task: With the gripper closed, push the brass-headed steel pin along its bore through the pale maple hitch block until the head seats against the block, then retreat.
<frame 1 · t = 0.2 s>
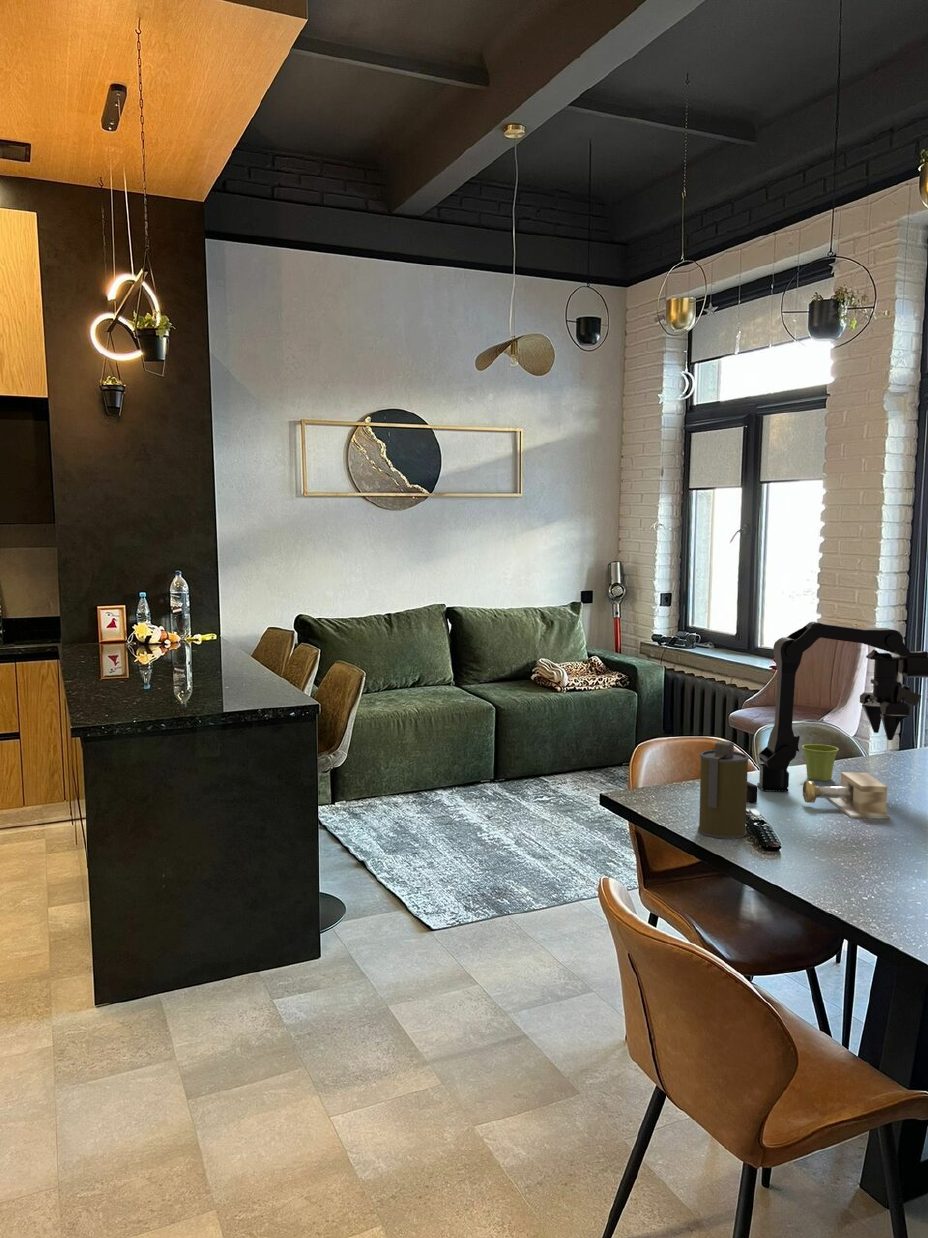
hand: (882, 736, 234), 14 cm above the table, fingers open, 9 cm apart
canister: (721, 833, 200), on the table
lynch pin: (838, 792, 220), point 4 cm above the table, slide at 0.0 cm
mobile phone: (735, 797, 230), on the table
hitch block: (862, 807, 220), on the table
plant pot: (819, 779, 248), on the table
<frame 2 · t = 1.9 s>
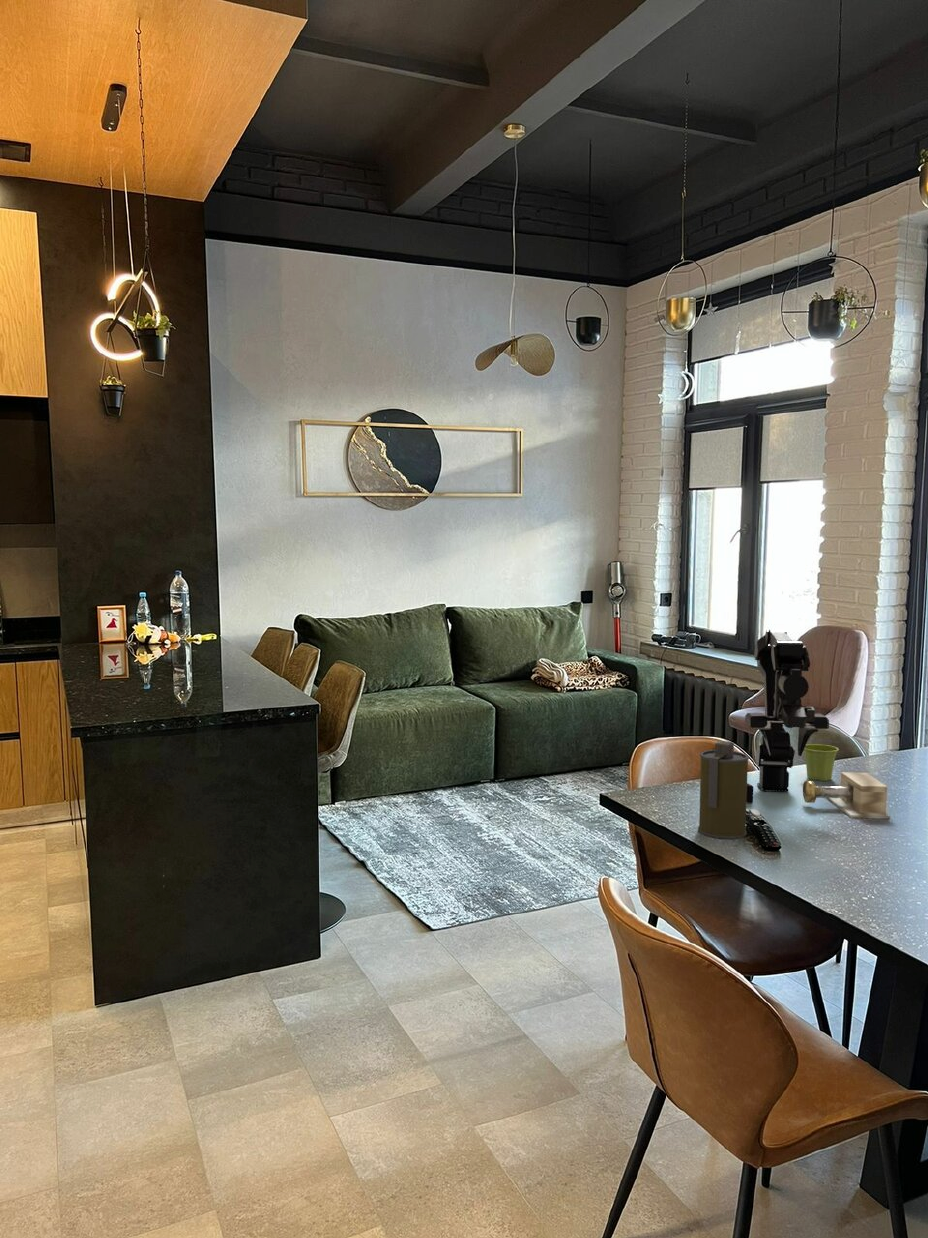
hand: (785, 755, 220), 13 cm above the table, fingers open, 7 cm apart
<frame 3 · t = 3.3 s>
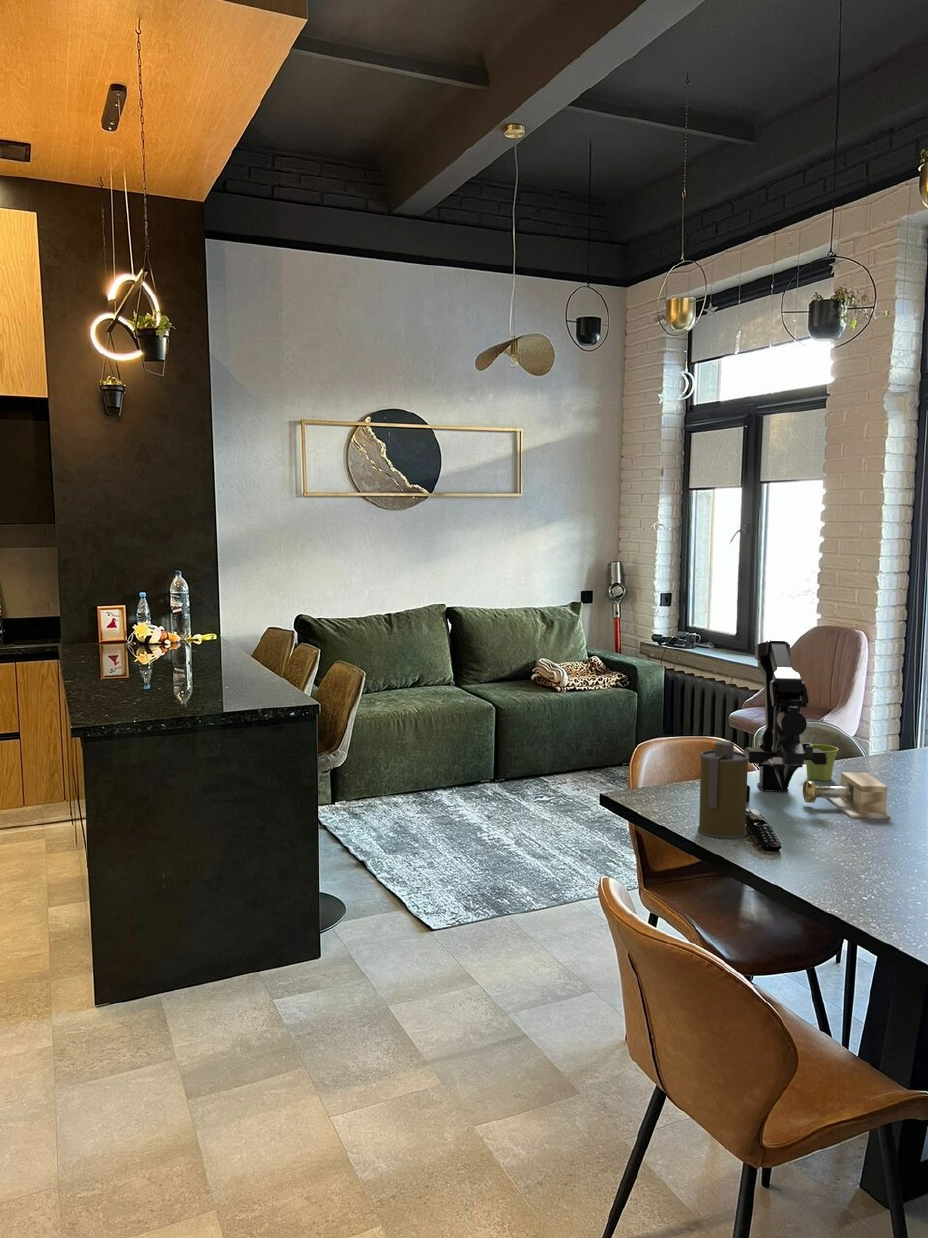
hand: (783, 790, 221), 4 cm above the table, fingers closed
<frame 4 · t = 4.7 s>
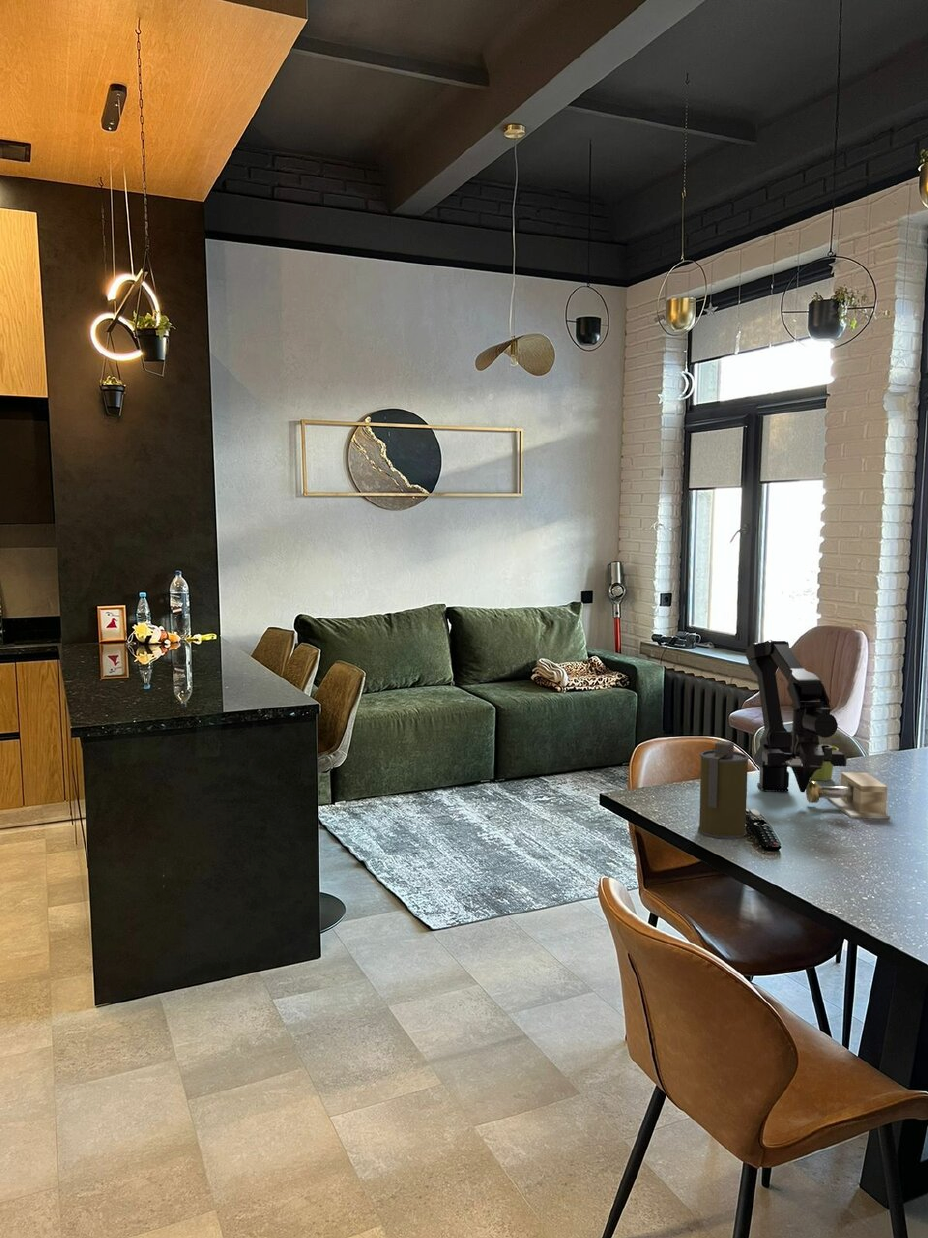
hand: (802, 792, 221), 4 cm above the table, fingers closed
lynch pin: (841, 792, 220), point 4 cm above the table, slide at 0.8 cm, touching gripper
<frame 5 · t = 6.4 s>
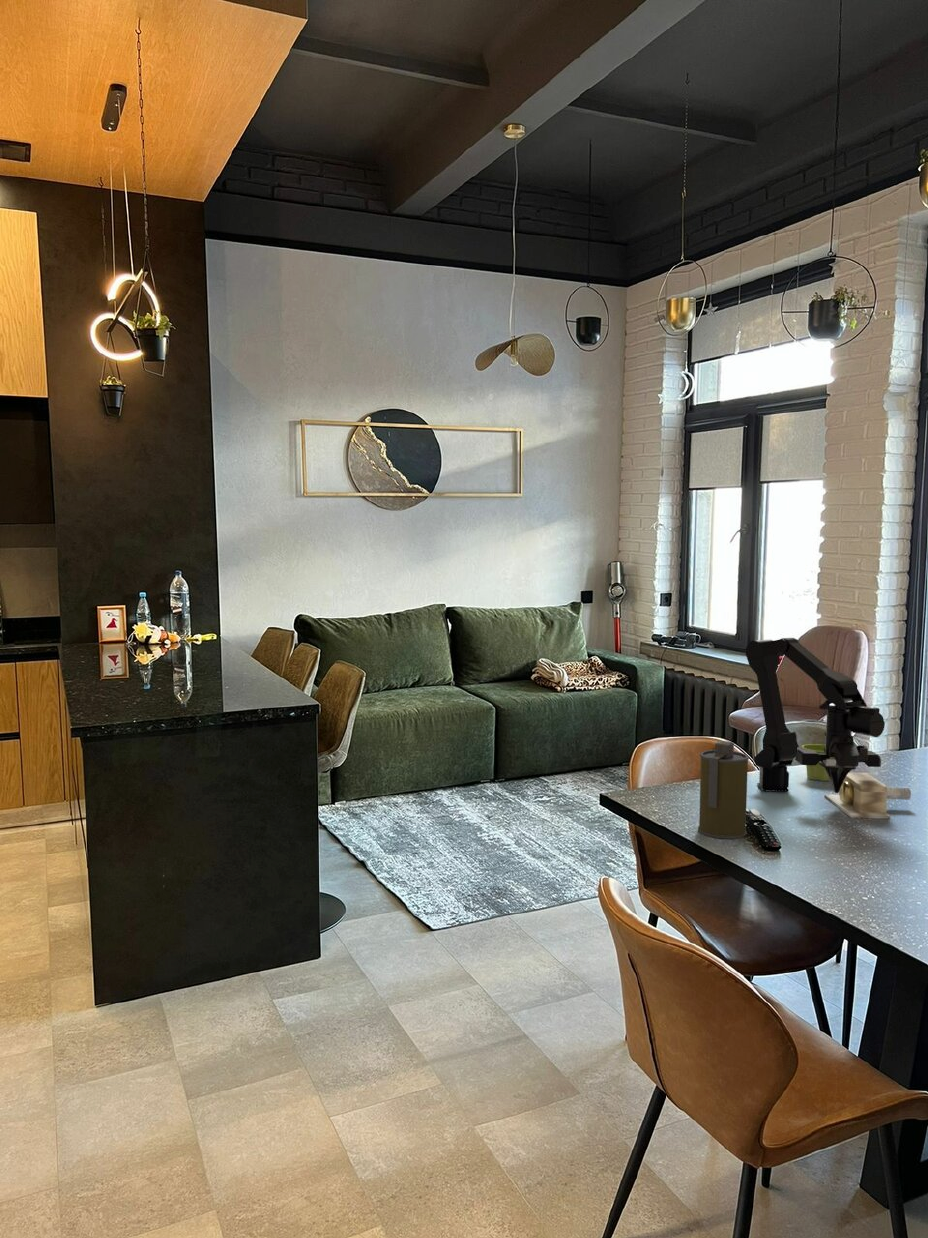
hand: (836, 792, 220), 4 cm above the table, fingers closed
lynch pin: (875, 793, 220), point 4 cm above the table, slide at 8.8 cm, touching gripper
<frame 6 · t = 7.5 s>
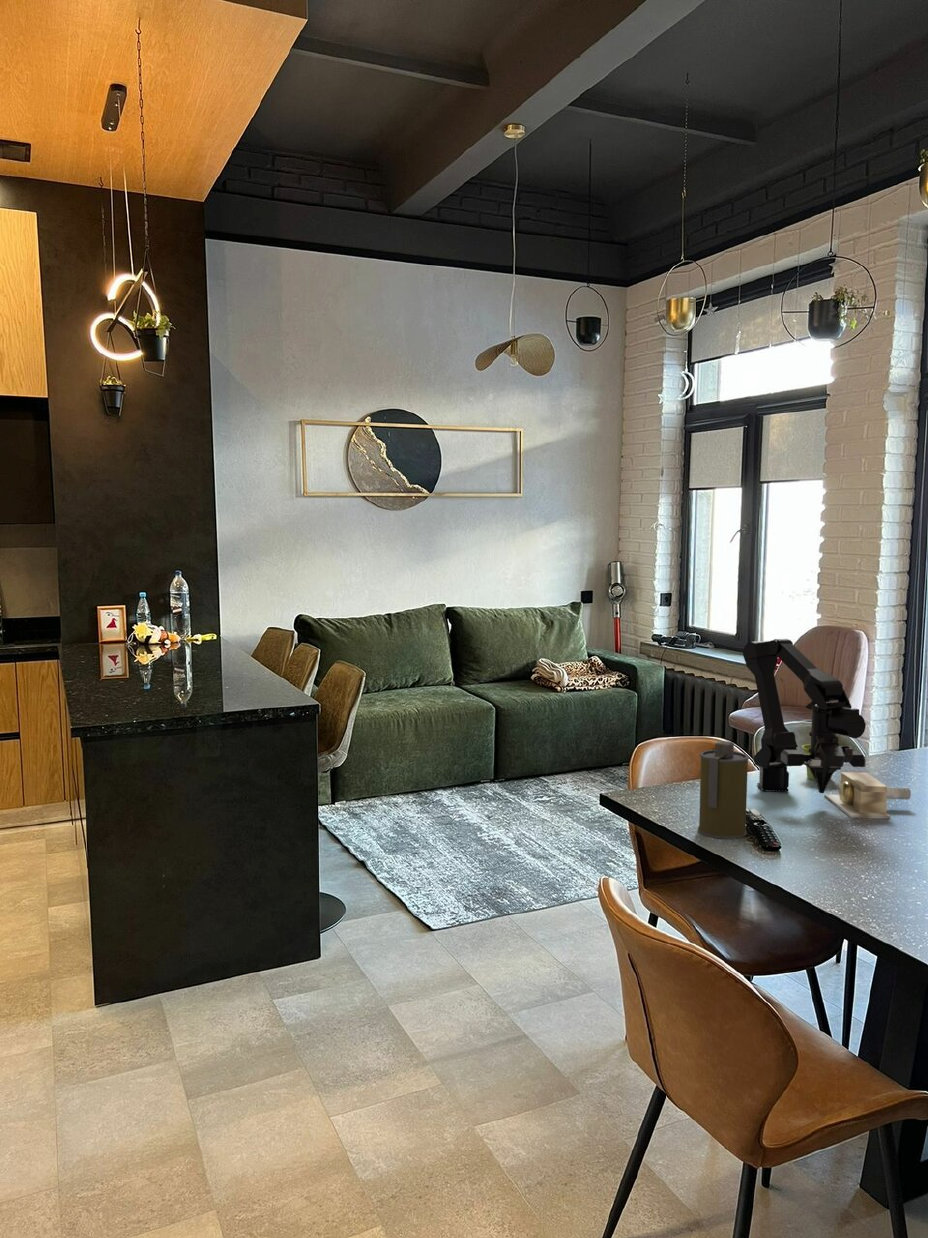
hand: (821, 792, 221), 3 cm above the table, fingers closed
lynch pin: (875, 793, 220), point 4 cm above the table, slide at 8.8 cm
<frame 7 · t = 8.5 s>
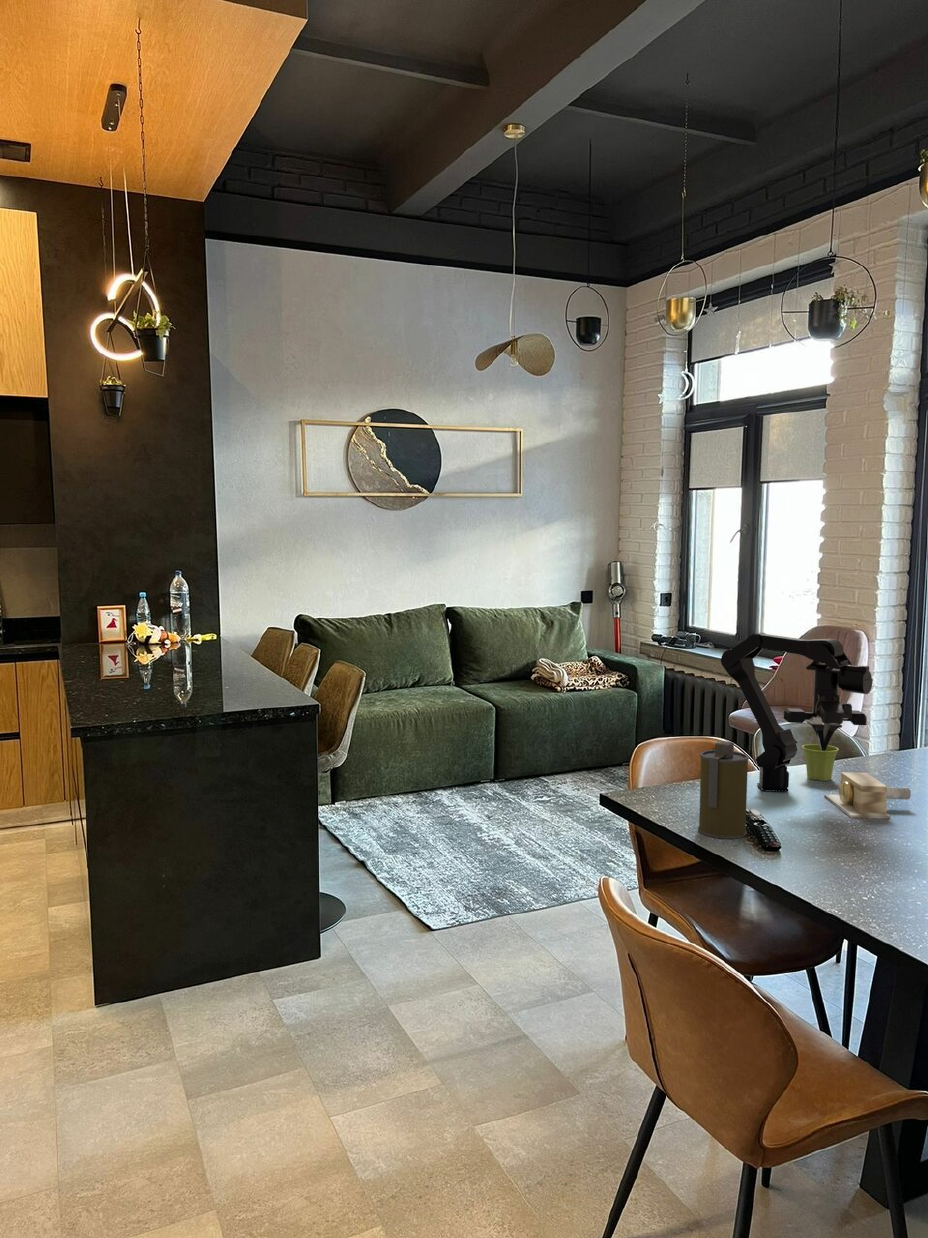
hand: (823, 750, 227), 12 cm above the table, fingers closed
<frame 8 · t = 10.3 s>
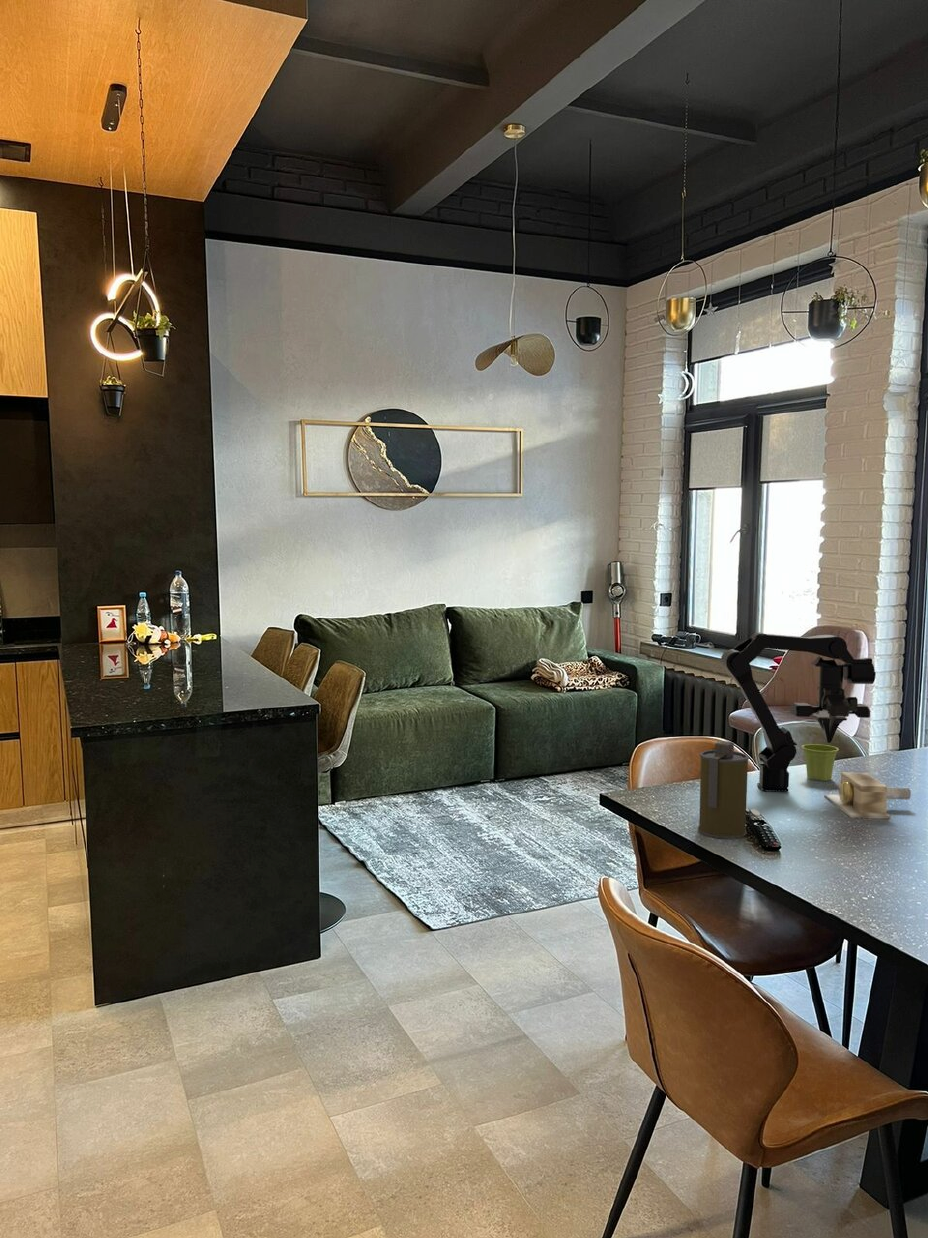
hand: (828, 742, 236), 12 cm above the table, fingers closed
at the end: lynch pin slide at 8.8 cm; lynch pin touching nothing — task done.
